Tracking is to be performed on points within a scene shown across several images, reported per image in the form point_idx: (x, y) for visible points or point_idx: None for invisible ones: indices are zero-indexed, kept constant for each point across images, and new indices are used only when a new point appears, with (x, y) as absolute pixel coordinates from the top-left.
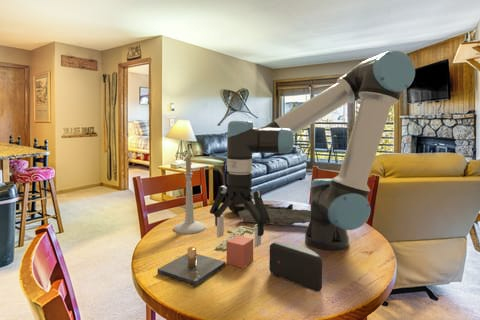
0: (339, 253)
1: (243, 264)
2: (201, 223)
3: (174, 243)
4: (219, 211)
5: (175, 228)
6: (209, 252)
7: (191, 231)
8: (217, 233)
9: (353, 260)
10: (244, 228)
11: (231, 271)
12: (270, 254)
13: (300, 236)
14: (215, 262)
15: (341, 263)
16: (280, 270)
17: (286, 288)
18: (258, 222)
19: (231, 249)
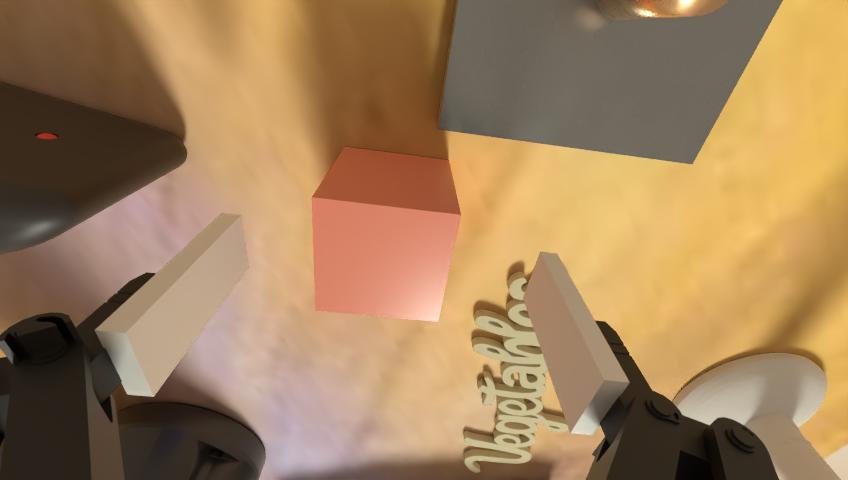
0: None
1: (340, 153)
2: None
3: (795, 258)
4: (635, 457)
5: (821, 375)
6: (580, 234)
7: (730, 373)
8: (561, 270)
9: None
10: (506, 450)
11: (380, 80)
12: (98, 168)
13: (291, 455)
14: (490, 94)
15: None
16: (77, 120)
17: (9, 13)
18: (48, 365)
19: (417, 189)
